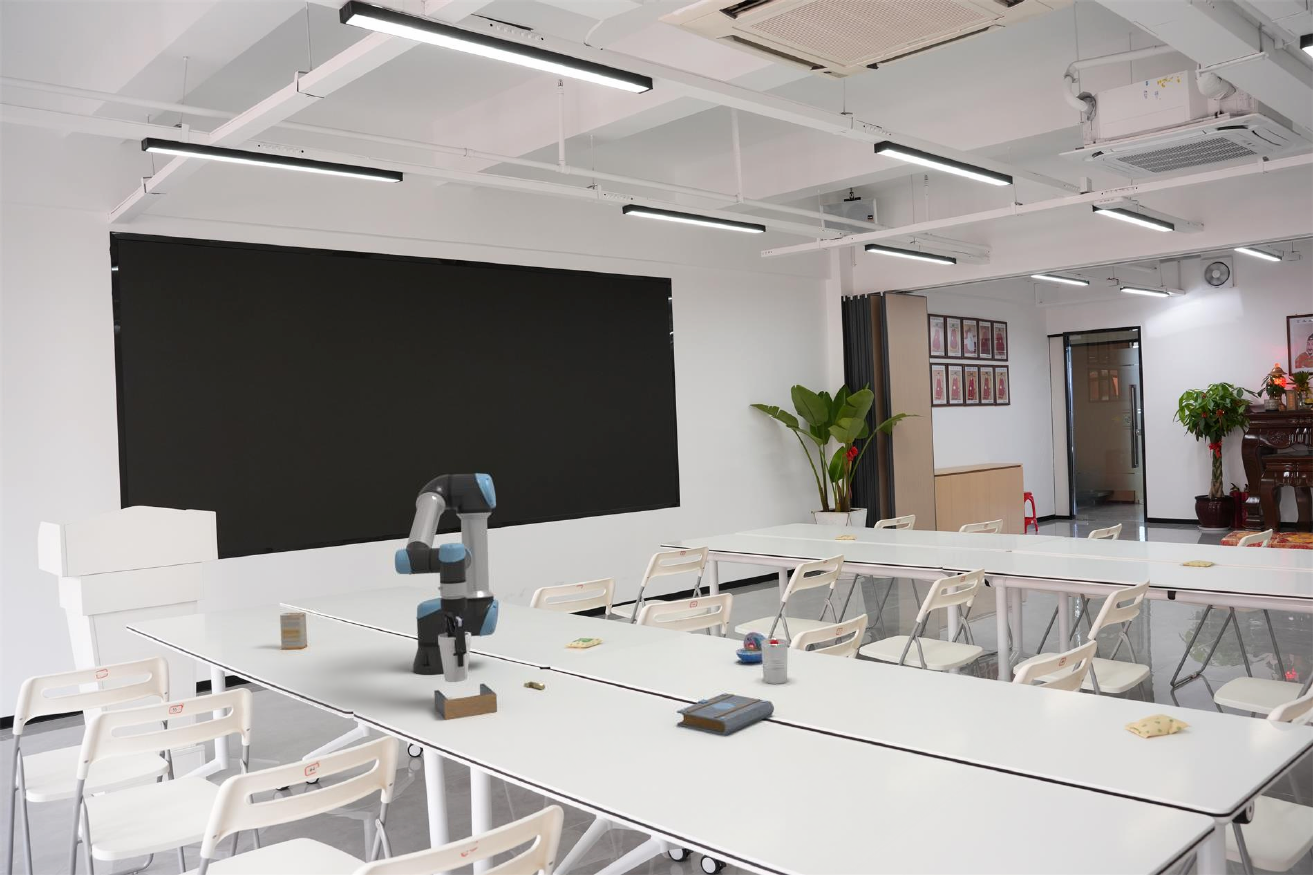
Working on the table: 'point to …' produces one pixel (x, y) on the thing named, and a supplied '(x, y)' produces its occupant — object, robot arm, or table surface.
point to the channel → (466, 704)
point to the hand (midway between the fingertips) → (455, 674)
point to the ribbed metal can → (774, 660)
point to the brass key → (534, 685)
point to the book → (725, 713)
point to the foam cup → (448, 658)
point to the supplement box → (293, 630)
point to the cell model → (751, 648)
